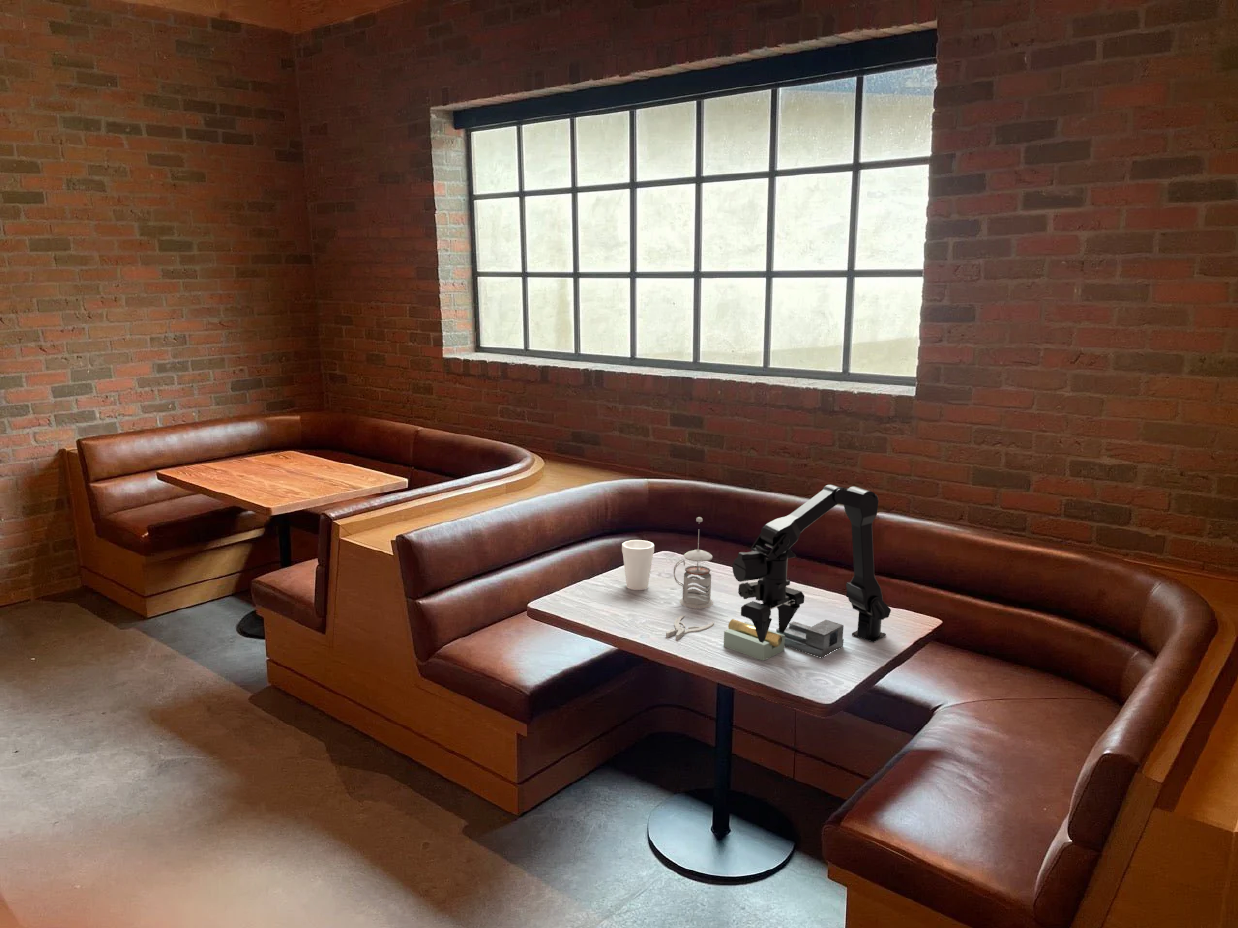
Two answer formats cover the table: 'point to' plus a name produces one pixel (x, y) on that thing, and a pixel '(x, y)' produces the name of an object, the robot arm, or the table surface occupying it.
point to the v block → (751, 644)
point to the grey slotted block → (814, 637)
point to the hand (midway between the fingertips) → (771, 637)
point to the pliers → (680, 631)
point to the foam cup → (637, 563)
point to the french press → (696, 579)
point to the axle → (754, 632)
